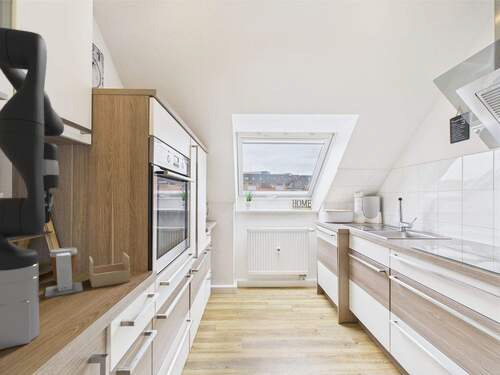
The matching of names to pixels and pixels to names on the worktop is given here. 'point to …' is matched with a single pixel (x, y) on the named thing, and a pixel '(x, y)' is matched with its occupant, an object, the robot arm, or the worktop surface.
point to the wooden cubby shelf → (109, 273)
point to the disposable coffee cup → (71, 250)
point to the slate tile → (55, 292)
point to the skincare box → (64, 271)
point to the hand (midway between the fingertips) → (46, 222)
